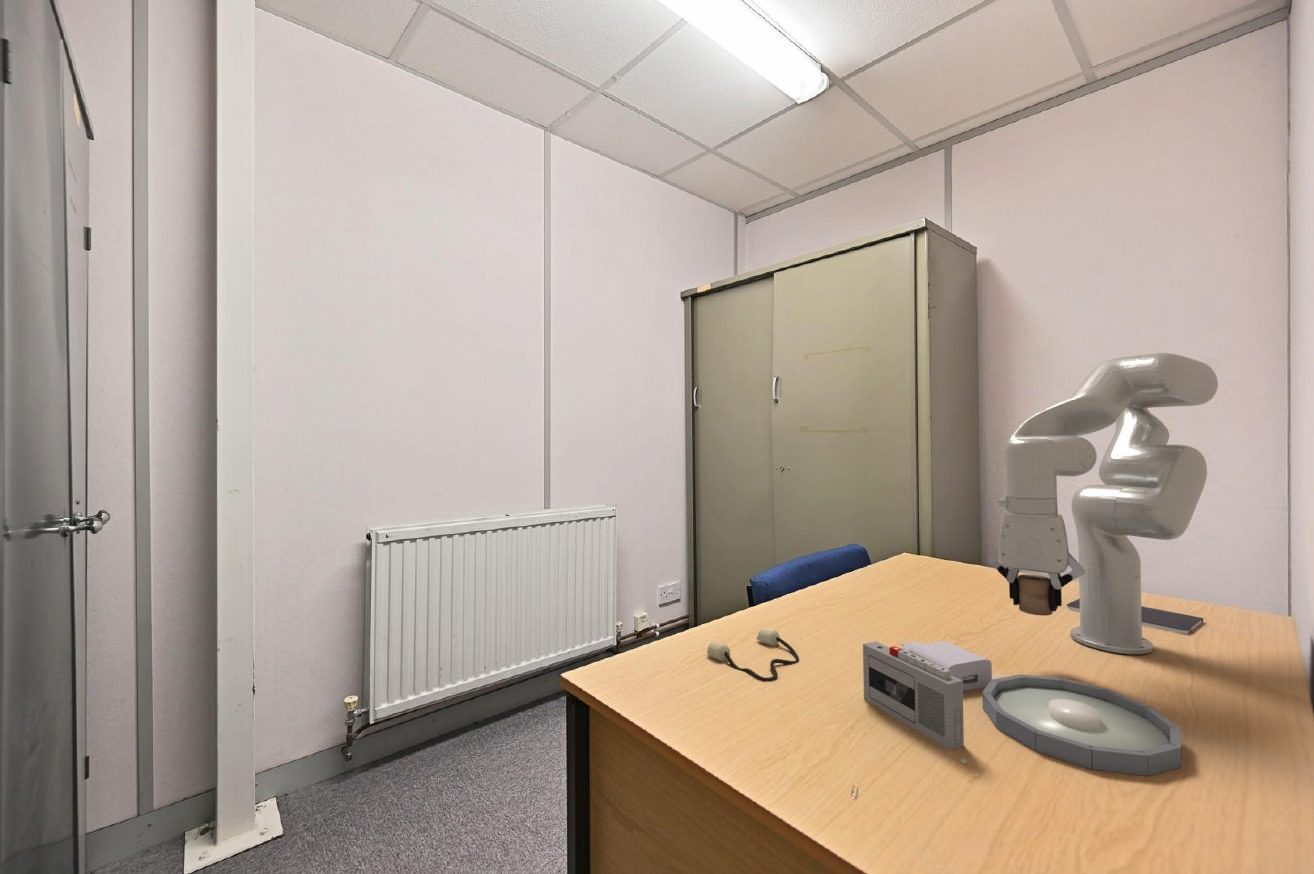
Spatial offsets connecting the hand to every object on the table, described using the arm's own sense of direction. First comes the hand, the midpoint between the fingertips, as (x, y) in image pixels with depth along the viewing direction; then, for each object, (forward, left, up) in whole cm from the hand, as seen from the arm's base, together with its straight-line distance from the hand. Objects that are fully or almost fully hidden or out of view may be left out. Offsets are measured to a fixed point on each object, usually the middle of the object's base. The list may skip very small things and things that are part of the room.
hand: (1035, 605), depth 98 cm
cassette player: (+35, -10, -11) cm, 38 cm away
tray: (+21, +8, -11) cm, 25 cm away
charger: (+14, -13, -12) cm, 22 cm away
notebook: (-46, +11, -12) cm, 49 cm away
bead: (0, 0, -1) cm, 1 cm away
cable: (+30, -39, -12) cm, 51 cm away
